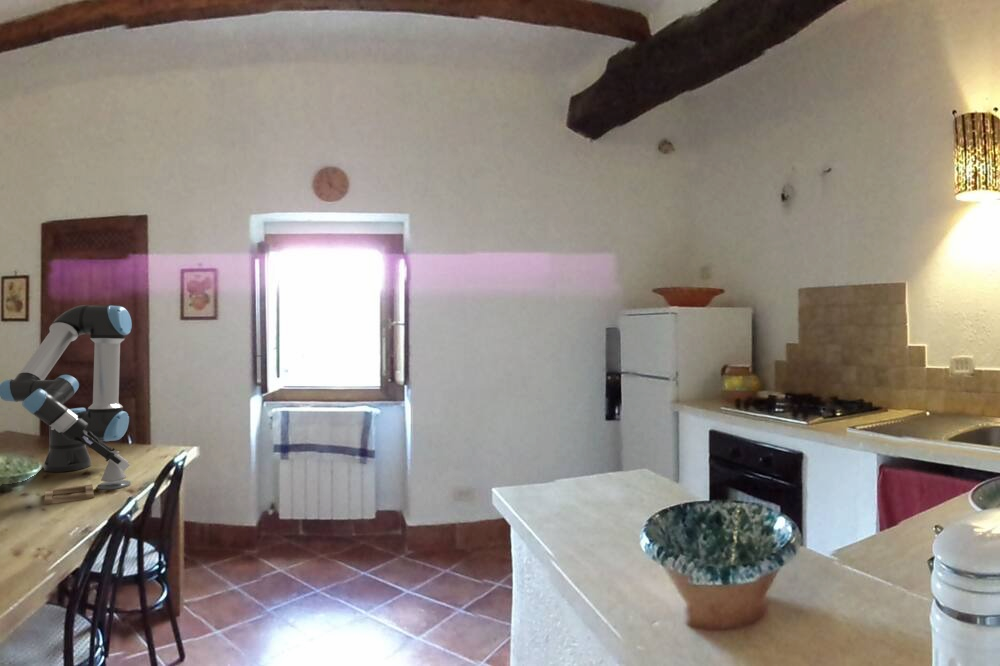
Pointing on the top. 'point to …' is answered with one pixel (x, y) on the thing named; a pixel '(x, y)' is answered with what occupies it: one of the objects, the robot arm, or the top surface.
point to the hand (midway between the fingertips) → (126, 466)
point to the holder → (51, 500)
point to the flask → (113, 472)
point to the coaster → (113, 485)
